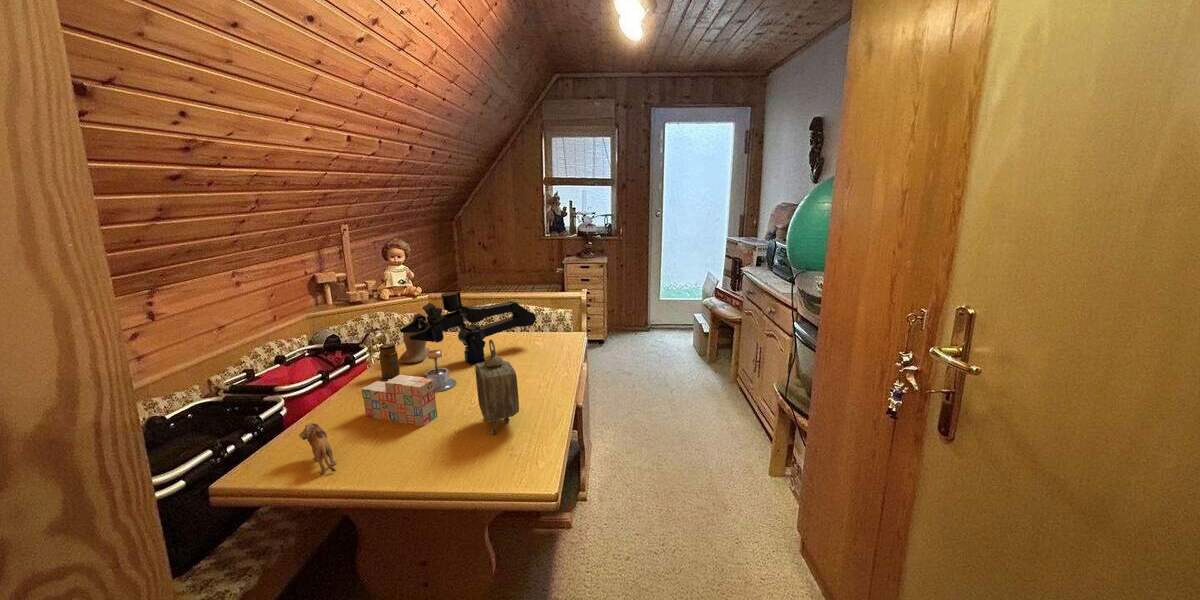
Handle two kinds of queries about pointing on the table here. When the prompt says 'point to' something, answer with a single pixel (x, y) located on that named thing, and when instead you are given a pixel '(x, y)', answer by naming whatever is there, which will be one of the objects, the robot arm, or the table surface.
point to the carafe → (439, 378)
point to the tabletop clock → (496, 388)
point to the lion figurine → (318, 445)
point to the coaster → (451, 385)
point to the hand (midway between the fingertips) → (404, 334)
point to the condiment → (388, 362)
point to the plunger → (434, 355)
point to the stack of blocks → (401, 400)
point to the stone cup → (413, 349)
